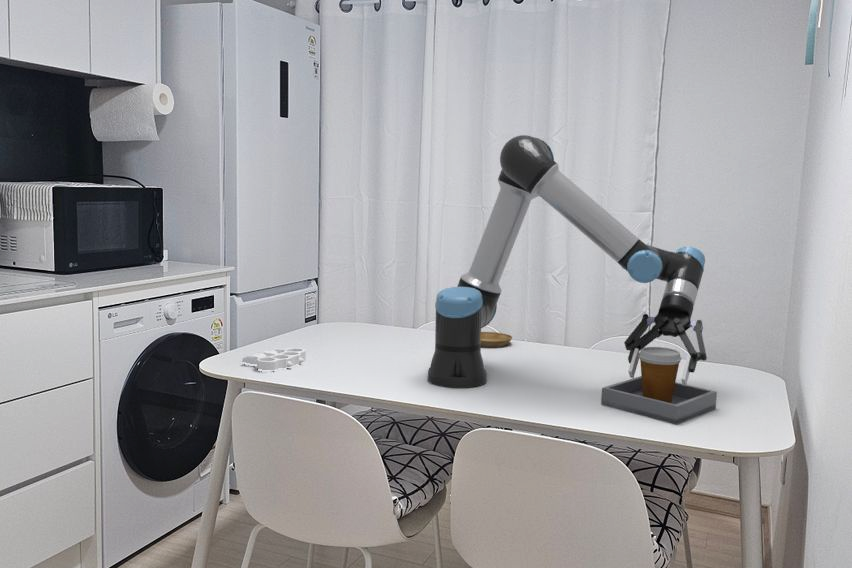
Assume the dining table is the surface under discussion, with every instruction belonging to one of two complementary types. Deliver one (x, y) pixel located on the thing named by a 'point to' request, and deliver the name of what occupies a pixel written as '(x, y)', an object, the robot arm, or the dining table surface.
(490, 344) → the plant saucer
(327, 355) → the dining table surface
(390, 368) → the dining table surface
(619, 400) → the grey tray
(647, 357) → the disposable coffee cup
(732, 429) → the dining table surface
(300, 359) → the white holed plate
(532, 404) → the dining table surface
